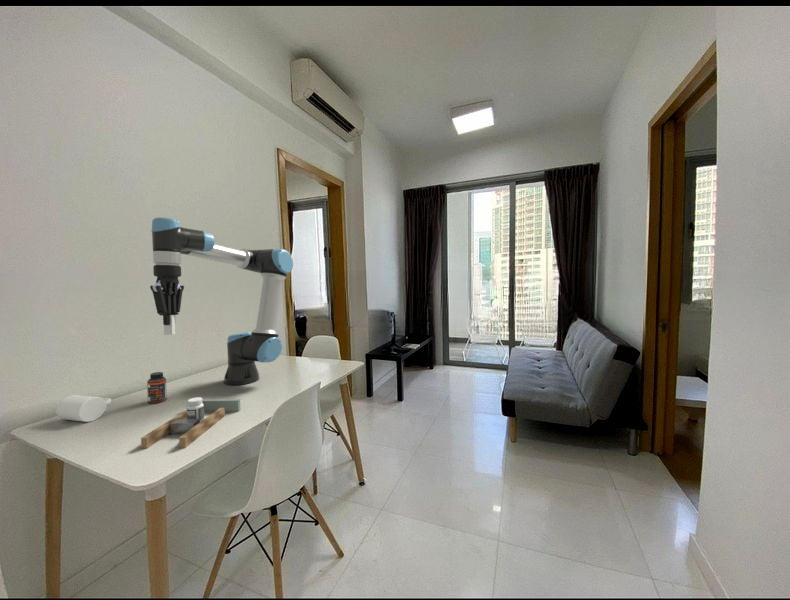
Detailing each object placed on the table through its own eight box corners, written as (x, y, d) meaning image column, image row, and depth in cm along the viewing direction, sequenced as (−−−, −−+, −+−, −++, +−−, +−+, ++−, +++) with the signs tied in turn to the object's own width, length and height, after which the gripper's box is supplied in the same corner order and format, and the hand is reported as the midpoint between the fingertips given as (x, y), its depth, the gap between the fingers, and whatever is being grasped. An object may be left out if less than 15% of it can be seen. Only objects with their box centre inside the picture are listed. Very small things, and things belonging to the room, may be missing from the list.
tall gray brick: (177, 429, 96) (177, 419, 96) (199, 429, 97) (199, 418, 96) (170, 434, 93) (170, 423, 93) (193, 434, 94) (193, 423, 93)
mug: (79, 426, 99) (78, 402, 99) (56, 423, 101) (55, 399, 101) (119, 411, 111) (118, 389, 110) (98, 409, 113) (97, 388, 112)
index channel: (189, 416, 106) (189, 407, 106) (224, 415, 107) (224, 407, 107) (141, 448, 85) (141, 438, 85) (185, 447, 86) (185, 437, 86)
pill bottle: (201, 419, 104) (201, 395, 104) (206, 423, 101) (205, 399, 100) (185, 424, 100) (184, 399, 100) (189, 428, 97) (188, 403, 97)
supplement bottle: (148, 405, 116) (147, 376, 116) (147, 400, 121) (146, 372, 120) (167, 401, 120) (166, 373, 119) (166, 397, 124) (165, 370, 124)
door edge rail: (191, 410, 112) (190, 399, 111) (240, 409, 112) (240, 399, 112) (188, 411, 110) (188, 401, 110) (238, 411, 111) (238, 400, 110)
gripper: (169, 266, 109) (172, 331, 110) (140, 263, 96) (143, 337, 97) (191, 266, 109) (193, 331, 110) (164, 263, 96) (167, 337, 97)
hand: (169, 334), depth 103 cm, fingers closed
